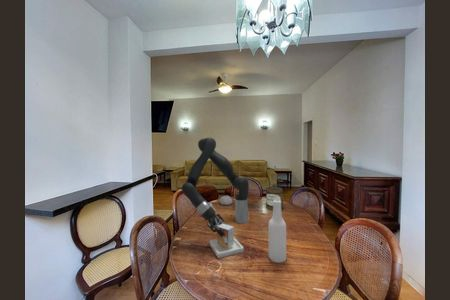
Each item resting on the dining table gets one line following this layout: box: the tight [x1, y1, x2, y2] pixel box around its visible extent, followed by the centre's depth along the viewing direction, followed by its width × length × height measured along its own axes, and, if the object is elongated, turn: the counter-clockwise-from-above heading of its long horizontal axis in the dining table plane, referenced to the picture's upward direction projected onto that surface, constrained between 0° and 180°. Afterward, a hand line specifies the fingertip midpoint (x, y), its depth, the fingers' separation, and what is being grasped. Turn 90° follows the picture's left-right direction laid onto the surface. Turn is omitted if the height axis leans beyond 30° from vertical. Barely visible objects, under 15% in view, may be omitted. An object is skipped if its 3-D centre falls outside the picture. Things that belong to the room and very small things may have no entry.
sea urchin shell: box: [218, 195, 233, 206], centre depth 191 cm, size 13×14×8 cm
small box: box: [216, 223, 235, 248], centre depth 109 cm, size 8×6×10 cm
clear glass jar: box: [265, 183, 284, 212], centre depth 176 cm, size 15×15×22 cm
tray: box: [209, 237, 245, 260], centre depth 110 cm, size 15×15×2 cm
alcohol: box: [268, 200, 287, 264], centre depth 99 cm, size 9×9×30 cm
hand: (224, 232), depth 110 cm, fingers closed on small box, 7 cm apart
